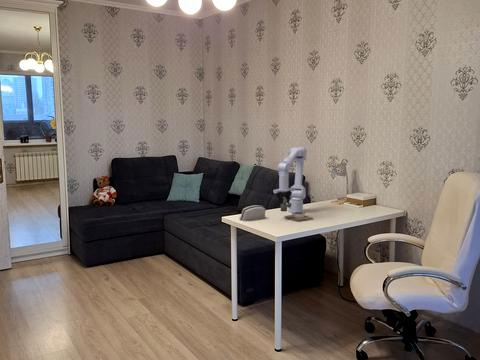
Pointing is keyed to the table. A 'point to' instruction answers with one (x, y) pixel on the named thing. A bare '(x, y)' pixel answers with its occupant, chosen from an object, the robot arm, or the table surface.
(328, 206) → the table surface
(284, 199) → the elbow
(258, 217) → the grey napkin holder
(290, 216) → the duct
